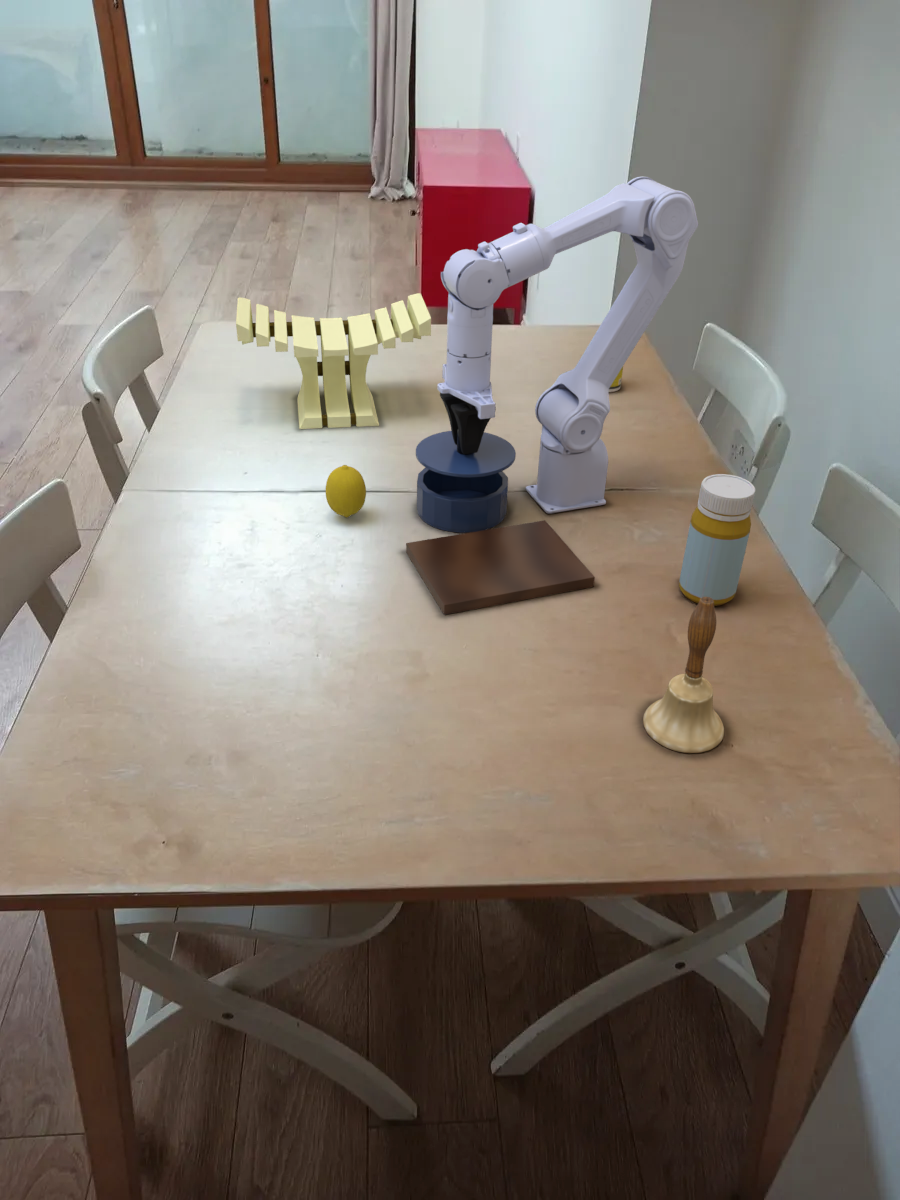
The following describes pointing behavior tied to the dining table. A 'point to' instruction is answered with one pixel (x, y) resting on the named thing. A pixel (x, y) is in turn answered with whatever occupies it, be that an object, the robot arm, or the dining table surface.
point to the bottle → (717, 539)
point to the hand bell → (689, 695)
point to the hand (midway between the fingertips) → (465, 447)
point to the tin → (461, 501)
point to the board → (497, 566)
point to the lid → (465, 455)
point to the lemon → (345, 491)
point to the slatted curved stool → (335, 354)
